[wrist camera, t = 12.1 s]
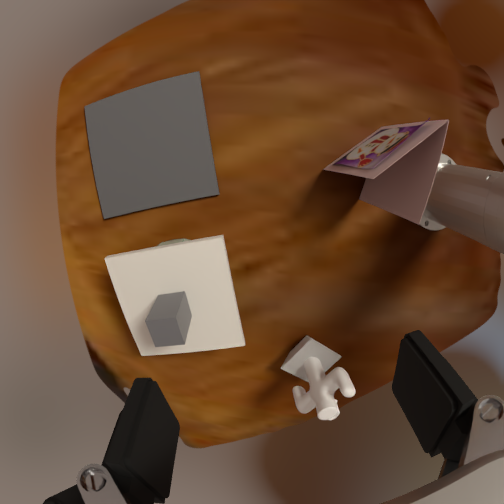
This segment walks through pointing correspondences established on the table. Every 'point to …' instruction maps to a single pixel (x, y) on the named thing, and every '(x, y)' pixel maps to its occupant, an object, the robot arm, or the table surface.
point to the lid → (178, 297)
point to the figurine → (317, 378)
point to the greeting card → (397, 166)
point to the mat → (151, 146)
